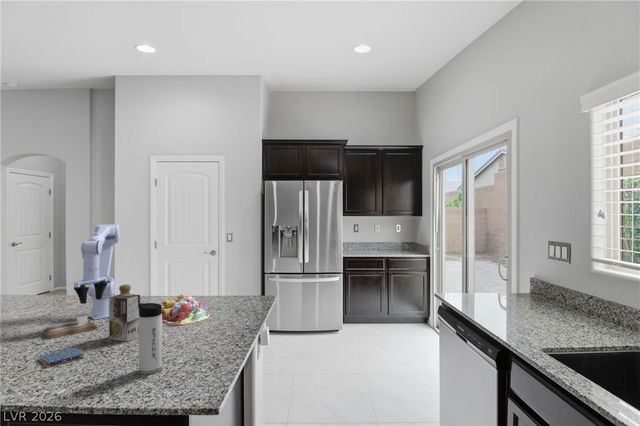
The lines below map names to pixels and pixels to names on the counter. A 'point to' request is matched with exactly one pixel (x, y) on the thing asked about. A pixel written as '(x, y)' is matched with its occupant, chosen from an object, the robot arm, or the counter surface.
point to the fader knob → (81, 318)
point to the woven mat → (60, 357)
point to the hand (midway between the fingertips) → (91, 301)
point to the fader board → (68, 329)
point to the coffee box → (124, 317)
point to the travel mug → (150, 338)
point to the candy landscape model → (183, 311)
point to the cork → (125, 289)
